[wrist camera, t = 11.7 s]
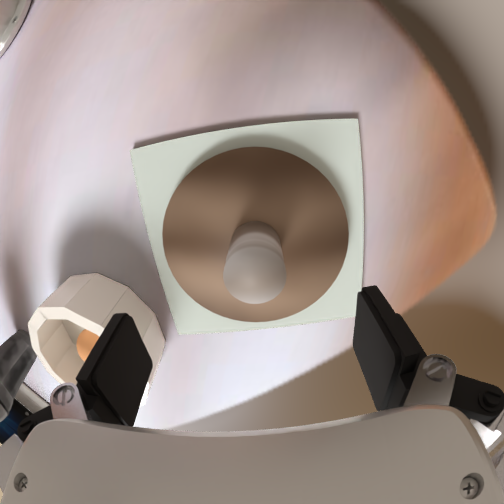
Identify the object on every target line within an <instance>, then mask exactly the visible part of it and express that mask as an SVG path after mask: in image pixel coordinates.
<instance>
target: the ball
mask: <svg viewBox="0 0 504 504" xmlns="http://www.w3.org/2000/svg"><path fill="white" fill-rule="evenodd" d="M98 339H99V336H98V335H97V334H95V333H93V332H91V331H89V330H87V329H84V330H83V331H82V332H81V333H80V334H79V336H78V338H77V345H76V346H77V351H78V354H79V356H80V357H81V359H82V360H83V361H84V362H85V360H86V359H87V357H88V355H89V354H90V352H91V350H92V349H93V347H94V345H95V343H96V342H97V340H98Z"/></svg>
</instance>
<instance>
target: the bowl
mask: <svg viewBox="0 0 504 504" xmlns="http://www.w3.org/2000/svg"><path fill="white" fill-rule="evenodd" d="M115 313H128V314H129V316H131V317H132V318H133V320H134V322H135V324H136V327H137V329H138V331H139V333H140V336H141V338H142V340H143V342H144V344H145V347H146V349H147V351H148V353H149V355H150V357H151V359H152V362H153V368H152V371H151V374H150V377H149V379H148V382H147V385H146V388H145V391H144V394H143V397H142V400H141V403H140V406H142V405H145V402H146V399H147V397H148V394H149V391H150V388H151V385H152V383H153V380H154V377H155V374H156V372H157V369H158V366H159V364H160V360H161V357H162V353H163V350H164V346H165V343H166V341H165V338H164V336H163V333H162V331H161V328H160V326H159V323H158V320H157V318H156V315H155V313H154V312H153V311H152V310H151V309H150V308H149V307H148V306H147V305H146V304H145V303H144V302H143V301H142V300H141V299H140V298H139V297H138V296H137V295H136V294H135V293H134V292H133V291H132V290H131V289H130V288H129V287H128V286H125V285H123V284H121V283H119V282H116V281H114V280H112V279H110V278H107V277H105V276H103V275H101V274H99V273H90V274H81V275H72V276H70V277H69V278H68V279H67V280H66V281H65V282H64V283H63V284H62V285H61V286H59V287H58V288H57V289H56V290H55V291H54V292H53V293H52V294H51V295H50V296H49V297H48V298H47V299H46V300H45V301H44V302H43V303H42V304H41V305H40V306H39V307H38V308H37V310H36V311H35V313H34V314H33V316H32V317H31V319H30V321H29V322H28V328H29V334H30V339H31V345H32V348H33V350H34V351H35V353H36V355H37V356H38V358H39V359H40V361H41V363H42V364H43V366H44V367H45V369H46V370H47V372H48V373H49V374H50V375H51V376H52V377H53V378H55V379H56V380H57V381H58V382H59V383H60V384H63V383H69V382H70V383H73V384H75V385H76V384H77V381H76V379H75V378H76V376H77V375H78V373H79V371H80V369H81V367H82V366H83V364H84V361H83V360H82V359H81V357H80V356H79V354H78V351H77V346H76V345H77V338H78V336H79V334H80V333H81V332H82V331H83V330H84V329H87V330H89V331H91V332H93V333H95V334H97V335H98V336H99V337H100V335H101V334H102V332H103V330H104V329H105V327H106V326H107V324H108V322H109V321H110V319H111V318H112V316H113V315H114V314H115ZM140 406H139V407H140Z"/></svg>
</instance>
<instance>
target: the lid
mask: <svg viewBox="0 0 504 504" xmlns="http://www.w3.org/2000/svg"><path fill="white" fill-rule="evenodd" d="M162 238H163V248H164V253H165V257H166V260H167V263H168V266H169V268H170V270H171V272H172V274H173V276H174V278H175V279H176V281H177V282H178V284H179V285H180V286H181V288H182V289H183V290H184V291H185V292H186V293H187V294H188V295H189V296H190V297H191V298H192V299H193V300H194V301H195V302H197V303H198V304H200V305H201V306H202V307H204V308H206V309H207V310H209V311H211V312H213V313H215V314H218V315H220V316H222V317H226V318H229V319H233V320H238V321H243V322H268V321H274V320H279V319H282V318H286V317H289V316H291V315H294V314H296V313H298V312H300V311H302V310H304V309H306V308H308V307H309V306H310V305H312V304H313V303H315V302H316V301H317V300H318V299H319V298H321V297H322V296H323V295H324V294H325V293H326V292H327V290H328V289H329V288H330V287H331V286H332V284H333V283H334V281H335V280H336V278H337V277H338V275H339V273H340V271H341V269H342V266H343V264H344V261H345V258H346V254H347V249H348V239H349V230H348V221H347V216H346V212H345V209H344V206H343V204H342V201H341V199H340V197H339V195H338V193H337V192H336V190H335V188H334V187H333V186H332V184H331V183H330V182H329V180H328V179H327V178H326V177H325V176H324V175H323V174H322V173H321V172H320V171H319V170H318V169H316V168H315V167H314V166H312V165H311V164H310V163H308V162H307V161H305V160H303V159H301V158H299V157H297V156H296V155H293V154H291V153H288V152H285V151H282V150H278V149H274V148H269V147H242V148H237V149H232V150H228V151H226V152H223V153H220V154H217V155H215V156H213V157H211V158H209V159H208V160H206V161H204V162H202V163H201V164H200V165H198V166H197V167H196V168H194V169H193V170H192V171H191V172H190V173H189V174H188V175H187V176H186V177H185V178H184V179H183V180H182V181H181V183H180V184H179V185H178V187H177V188H176V190H175V191H174V193H173V195H172V197H171V199H170V201H169V203H168V206H167V209H166V212H165V216H164V221H163V230H162Z"/></svg>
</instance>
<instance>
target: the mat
mask: <svg viewBox="0 0 504 504" xmlns="http://www.w3.org/2000/svg"><path fill="white" fill-rule="evenodd" d="M242 147H269V148H274V149H278V150H282V151H285V152H288V153H291V154H293V155H296V156H297V157H299V158H301V159H303V160H305V161H307V162H308V163H310V164H311V165H312V166H314V167H315V168H316V169H318V170H319V171H320V172H321V173H322V174H323V175H324V176H325V177H326V178H327V179H328V180H329V182H330V183H331V184H332V186H333V187H334V188H335V190H336V192H337V193H338V195H339V197H340V199H341V201H342V204H343V206H344V209H345V212H346V216H347V221H348V230H349V239H348V249H347V254H346V258H345V261H344V264H343V266H342V269H341V271H340V273H339V275H338V277H337V278H336V280H335V281H334V283H333V284H332V286H331V287H330V288H329V289H328V290H327V292H326V293H325V294H324V295H323V296H322V297H321V298H319V299H318V300H317V301H316V302H315V303H313V304H312V305H310V306H309V307H308V308H306V309H304V310H302V311H300V312H298V313H296V314H294V315H291V316H289V317H286V318H282V319H279V320H274V321H268V322H243V321H238V320H233V319H229V318H226V317H222V316H220V315H218V314H215V313H213V312H211V311H209V310H207V309H206V308H204V307H202V306H201V305H200V304H198V303H197V302H195V301H194V300H193V299H192V298H191V297H190V296H189V295H188V294H187V293H186V292H185V291H184V290H183V289H182V288H181V286H180V285H179V284H178V282H177V281H176V279H175V278H174V276H173V274H172V272H171V270H170V268H169V266H168V263H167V260H166V257H165V253H164V248H163V238H162V230H163V221H164V216H165V212H166V209H167V206H168V203H169V201H170V199H171V197H172V195H173V193H174V191H175V190H176V188H177V187H178V185H179V184H180V183H181V181H182V180H183V179H184V178H185V177H186V176H187V175H188V174H189V173H190V172H191V171H192V170H193V169H194V168H196V167H197V166H198V165H200V164H201V163H202V162H204V161H206V160H208V159H209V158H211V157H213V156H215V155H217V154H220V153H223V152H226V151H228V150H232V149H237V148H242ZM130 154H131V160H132V165H133V170H134V175H135V180H136V185H137V190H138V195H139V199H140V204H141V208H142V212H143V217H144V221H145V225H146V229H147V233H148V237H149V241H150V244H151V248H152V252H153V255H154V259H155V263H156V266H157V269H158V273H159V276H160V280H161V283H162V286H163V289H164V293H165V296H166V299H167V302H168V305H169V308H170V311H171V314H172V317H173V320H174V323H175V326H176V329H177V332H178V334H179V335H186V334H206V333H222V332H235V331H247V330H258V329H268V328H278V327H286V326H295V325H303V324H310V323H318V322H325V321H331V320H338V319H344V318H351V317H355V316H356V305H357V294H358V292H360V291H361V290H362V274H363V246H364V204H363V176H362V159H361V146H360V135H359V125H358V119H322V120H304V121H291V122H280V123H270V124H261V125H253V126H245V127H238V128H231V129H225V130H219V131H213V132H207V133H202V134H197V135H191V136H187V137H182V138H177V139H173V140H168V141H164V142H160V143H155V144H151V145H147V146H143V147H140V148H136V149H132V150H130Z"/></svg>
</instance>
